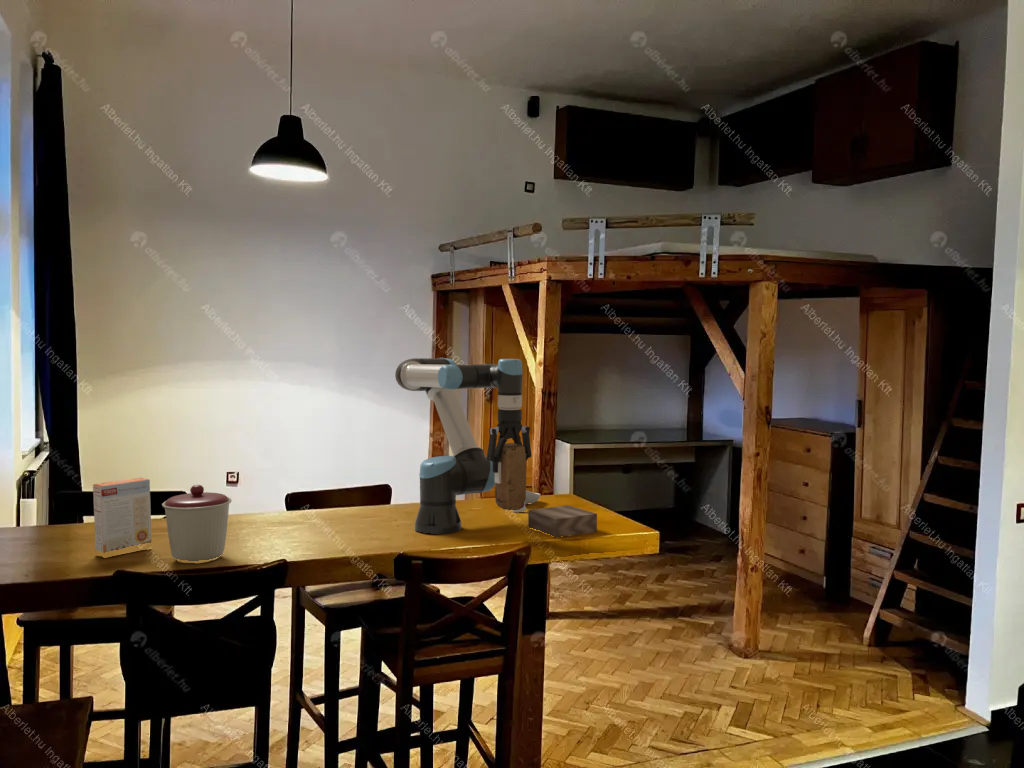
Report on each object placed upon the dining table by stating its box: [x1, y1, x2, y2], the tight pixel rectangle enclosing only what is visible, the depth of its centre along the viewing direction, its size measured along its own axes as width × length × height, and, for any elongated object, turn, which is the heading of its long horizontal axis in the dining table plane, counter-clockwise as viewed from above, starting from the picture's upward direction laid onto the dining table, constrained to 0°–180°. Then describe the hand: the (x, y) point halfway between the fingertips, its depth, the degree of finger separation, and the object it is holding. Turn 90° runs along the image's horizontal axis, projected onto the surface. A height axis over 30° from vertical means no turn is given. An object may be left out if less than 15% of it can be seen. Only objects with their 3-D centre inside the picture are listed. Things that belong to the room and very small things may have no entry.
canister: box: [161, 484, 232, 561], centre depth 226 cm, size 18×18×21 cm
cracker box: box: [92, 477, 152, 553], centre depth 233 cm, size 14×6×21 cm, turn 141°
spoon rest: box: [512, 489, 542, 513], centre depth 302 cm, size 24×12×7 cm, turn 173°
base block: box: [527, 504, 598, 538], centre depth 263 cm, size 16×16×6 cm
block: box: [494, 442, 527, 511], centre depth 252 cm, size 11×8×20 cm
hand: (509, 481), depth 252 cm, fingers closed on block, 7 cm apart
